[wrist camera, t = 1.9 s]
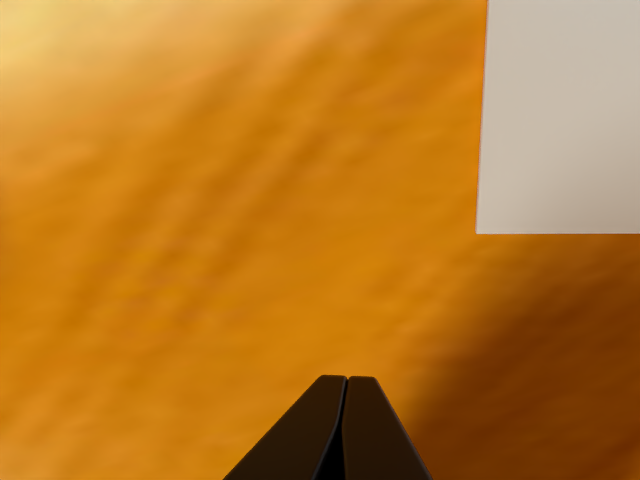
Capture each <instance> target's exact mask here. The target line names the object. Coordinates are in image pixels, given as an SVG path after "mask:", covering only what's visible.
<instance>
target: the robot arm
mask: <svg viewBox="0 0 640 480" xmlns="http://www.w3.org/2000/svg"><path fill="white" fill-rule="evenodd" d="M223 480H433V478H432V477H431V475H430V473H429V471H428V470H427V468H426V466H425V464H424V462H423V461H422V459H421V457H420V455H419V454H418V452H417V450H416V448H415V447H414V445H413V443H412V441H411V439H410V438H409V436H408V434H407V432H406V431H405V429H404V427H403V425H402V423H401V422H400V420H399V418H398V416H397V415H396V413H395V411H394V409H393V408H392V406H391V404H390V402H389V400H388V399H387V397H386V395H385V393H384V392H383V390H382V388H381V386H380V384H379V383H378V381H377V380H376V378H374V377H367V376H351V377H350V378H349V379H347V377H345V376H342V375H321V376H320V377H318V379H317V380H316V381H315V382H314V383H313V384H312V385H311V386H310V387H309V388H308V389H307V390H306V391H305V392H304V393H303V395H302V396H301V397H300V398H299V399H298V400H297V401H296V402H295V403H294V404H293V405H292V406H291V407H290V408H289V409H288V410H287V412H286V413H285V414H284V415H283V416H282V417H281V418H280V419H279V420H278V421H277V422H276V423H275V424H274V425H273V426H272V428H271V429H270V430H269V431H268V432H267V433H266V434H265V435H264V436H263V437H262V438H261V439H260V440H259V441H258V442H257V443H256V445H255V446H254V447H253V448H252V449H251V450H250V451H249V452H248V453H247V454H246V455H245V456H244V457H243V458H242V459H241V461H240V462H239V463H238V464H237V465H236V466H235V467H234V468H233V469H232V470H231V471H230V472H229V473H228V474H227V475H226V476H225V478H224V479H223Z"/></svg>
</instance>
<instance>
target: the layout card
mask: <svg viewBox="0 0 640 480" xmlns="http://www.w3.org/2000/svg"><path fill="white" fill-rule="evenodd" d="M475 232H476V234H639V233H640V0H488V2H487V21H486V39H485V58H484V77H483V96H482V114H481V133H480V152H479V170H478V189H477V208H476V226H475Z"/></svg>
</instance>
